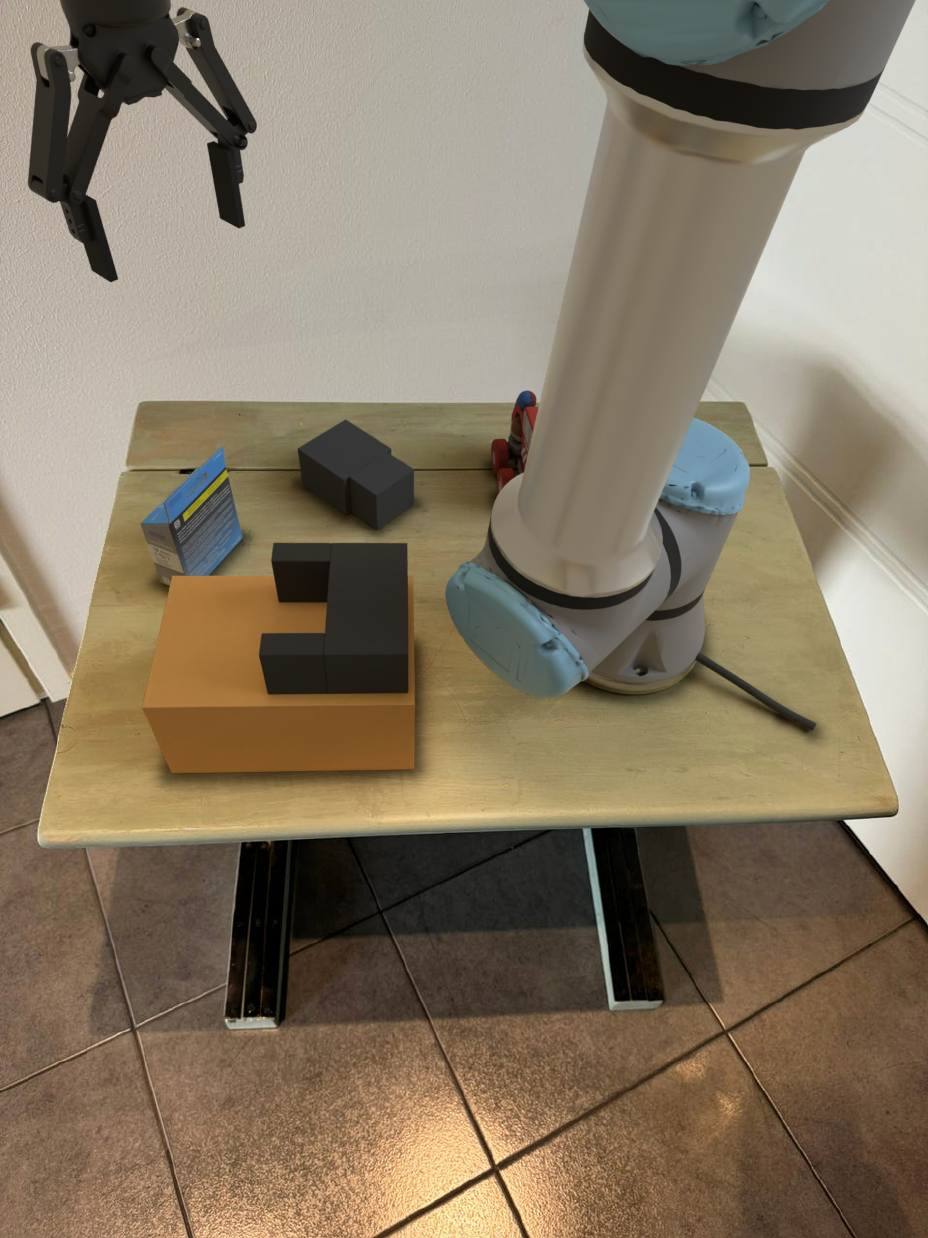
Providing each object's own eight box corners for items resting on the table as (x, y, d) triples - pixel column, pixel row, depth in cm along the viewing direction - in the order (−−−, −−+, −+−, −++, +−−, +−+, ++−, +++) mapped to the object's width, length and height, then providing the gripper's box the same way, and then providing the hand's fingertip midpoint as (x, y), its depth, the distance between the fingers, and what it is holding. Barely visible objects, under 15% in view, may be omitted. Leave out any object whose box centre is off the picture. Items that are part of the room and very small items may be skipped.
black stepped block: (418, 501, 91) (419, 465, 87) (372, 533, 87) (371, 498, 84) (348, 454, 95) (345, 418, 91) (301, 484, 92) (297, 448, 88)
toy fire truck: (544, 446, 98) (557, 370, 90) (565, 520, 90) (581, 444, 82) (486, 448, 97) (493, 371, 89) (502, 523, 89) (512, 447, 81)
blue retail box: (212, 526, 87) (189, 431, 77) (244, 538, 86) (224, 444, 76) (158, 583, 82) (126, 488, 72) (192, 597, 81) (163, 503, 71)
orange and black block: (412, 646, 78) (413, 533, 67) (413, 769, 70) (415, 665, 59) (195, 647, 77) (158, 532, 65) (171, 773, 69) (123, 667, 57)
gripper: (213, -91, 65) (253, 189, 81) (-105, -37, 52) (18, 282, 69) (278, -71, 62) (306, 216, 78) (-42, -8, 49) (71, 318, 66)
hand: (171, 247), depth 74 cm, fingers open, 13 cm apart
